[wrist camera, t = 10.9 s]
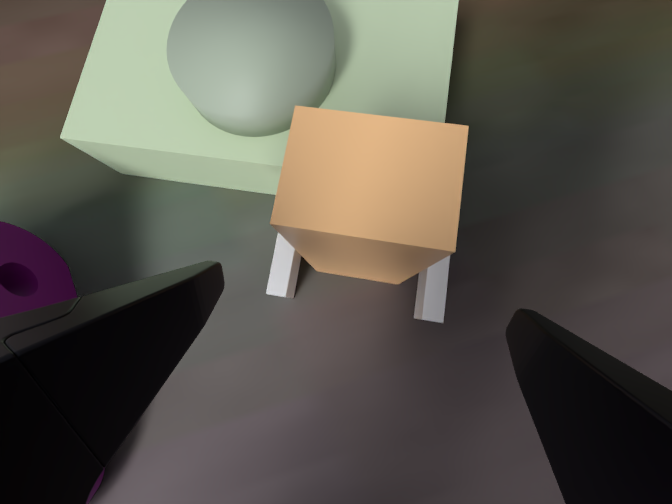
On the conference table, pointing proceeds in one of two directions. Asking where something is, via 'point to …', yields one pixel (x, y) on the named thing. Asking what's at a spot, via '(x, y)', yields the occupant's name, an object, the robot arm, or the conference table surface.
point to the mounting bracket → (32, 278)
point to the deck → (203, 155)
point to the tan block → (370, 192)
